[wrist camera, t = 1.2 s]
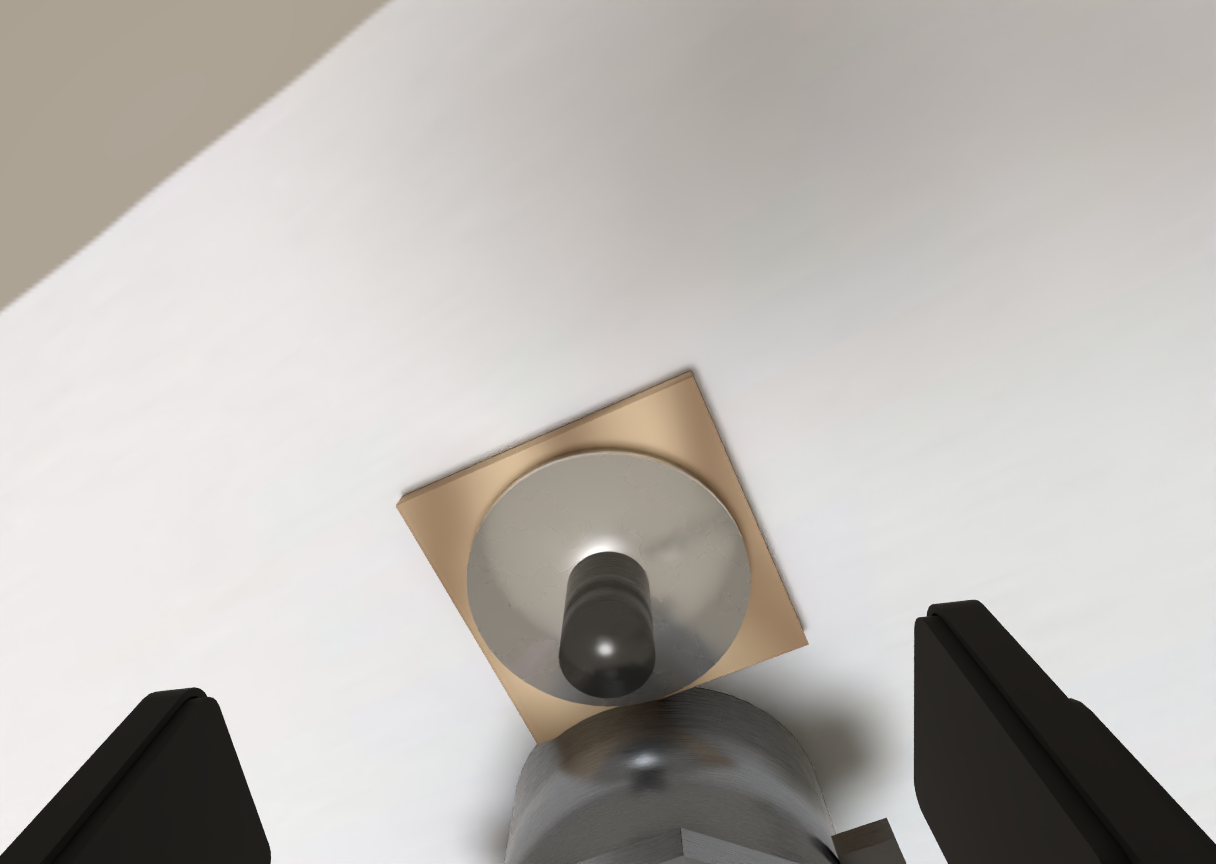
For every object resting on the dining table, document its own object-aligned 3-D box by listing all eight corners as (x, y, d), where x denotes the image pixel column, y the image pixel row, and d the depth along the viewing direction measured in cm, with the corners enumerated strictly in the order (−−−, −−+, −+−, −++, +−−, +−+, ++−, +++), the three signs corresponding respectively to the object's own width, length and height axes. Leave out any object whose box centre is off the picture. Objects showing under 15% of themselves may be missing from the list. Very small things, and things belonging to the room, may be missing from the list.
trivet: (690, 370, 31) (693, 376, 30) (803, 631, 35) (808, 644, 34) (402, 496, 33) (395, 505, 32) (540, 730, 37) (537, 744, 36)
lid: (801, 533, 32) (842, 607, 26) (653, 732, 35) (661, 835, 30) (555, 394, 30) (541, 441, 24) (424, 618, 34) (384, 705, 28)
